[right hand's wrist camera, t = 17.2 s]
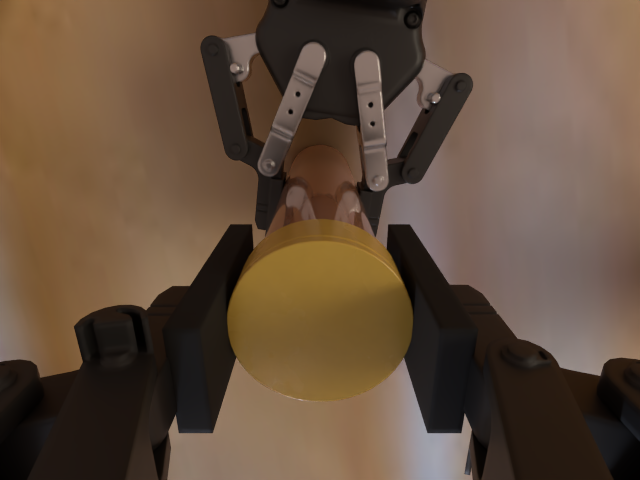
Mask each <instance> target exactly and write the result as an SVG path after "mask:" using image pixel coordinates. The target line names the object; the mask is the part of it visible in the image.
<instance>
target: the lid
mask: <svg viewBox="0 0 640 480" xmlns="http://www.w3.org/2000/svg"><path fill="white" fill-rule="evenodd" d="M227 326H228V336H229V340H230V344H231V347H232V349H233V351H234V353H235V355H236V357H237V359H238V360H239V362H240V363H241V365H242V366H243V367H244V368H245V370H246V371H247V372H248V373H249V374H250V375H251V376H252V377H253V378H254V379H256V380H257V381H258V382H260V383H261V384H262V385H264V386H265V387H267V388H269V389H271V390H272V391H275V392H277V393H279V394H281V395H284V396H287V397H290V398H294V399H299V400H304V401H313V402H328V401H337V400H342V399H346V398H350V397H353V396H356V395H359V394H361V393H364V392H366V391H368V390H370V389H372V388H373V387H375V386H376V385H378V384H380V383H381V382H382V381H383V380H385V379H386V378H387V377H388V376H389V375H390V374H391V373H392V372H393V371H394V370H395V369H396V368H397V366H398V365H399V364H400V363H401V361H402V359H403V358H404V356H405V354H406V352H407V350H408V347H409V345H410V342H411V338H412V329H413V307H412V303H411V299H410V297H409V294H408V292H407V289H406V287H405V285H404V282H403V280H402V278H401V275H400V273H399V271H398V268H397V266H396V264H395V262H394V260H393V258H392V256H391V255H390V253H389V252H388V251H387V249H386V248H385V247H384V246H383V245H382V244H381V243H380V242H379V241H378V240H377V239H376V238H375V237H373V236H372V235H370V234H369V233H368V232H366V231H364V230H362V229H360V228H359V227H356V226H354V225H351V224H349V223H345V222H341V221H337V220H329V219H311V220H304V221H299V222H295V223H292V224H289V225H287V226H284V227H282V228H280V229H278V230H276V231H275V232H273V233H271V234H270V235H269V236H267V237H266V238H265V239H263V240H262V241H261V242H260V243H259V244H258V245H257V246H256V247H255V249H254V250H253V251H252V253H251V254H250V255H249V257H248V259H247V261H246V263H245V264H244V267H243V269H242V271H241V274H240V276H239V278H238V281H237V283H236V286H235V288H234V290H233V293H232V295H231V298H230V301H229V305H228V310H227Z"/></svg>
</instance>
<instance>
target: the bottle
mask: <svg viewBox="0 0 640 480" xmlns="http://www.w3.org/2000/svg"><path fill="white" fill-rule="evenodd" d="M311 219H329V220H337V221H341V222H345V223H349V224H351V225H354V226H356V227H359V228H360V229H362V230H364V231H366V232H368V233H369V234H370V235H372V236H373V237H375V236H374V233H373V230H372V228H371V225H370V222H369V219H368V217H367V214H366V211H365V209H364V206H363V203H362V201H361V198H360V195H359V192H358V190H357V187H356V184H355V182H354V179H353V176H352V174H351V171H350V168H349V165H348V163H347V161H346V159H345V157H344V156H343V155H342V154H341V153H340V152H339V151H338V150H336V149H335V148H333V147H330V146H327V145H313V146H310V147H308V148H305V149H304V150H302V151H301V152H300V153H299V154H298V155H297V156H296V158H295V159H294V161H293V163H292V166H291V169H290V171H289V174H288V177H287V180H286V182H285V185H284V188H283V190H282V193H281V196H280V199H279V201H278V204H277V207H276V209H275V212H274V215H273V218H272V220H271V223H270V226H269V228H268V231H267V234H266V237H267V236H269V235H270V234H271V233H273V232H275V231H276V230H278V229H280V228H282V227H284V226H287V225H289V224H292V223H295V222H299V221H304V220H311ZM266 237H265V238H266Z"/></svg>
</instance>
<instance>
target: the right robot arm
mask: <svg viewBox="0 0 640 480" xmlns="http://www.w3.org/2000/svg"><path fill="white" fill-rule="evenodd" d="M253 250H254V249H253V234H252V224H231V225H230V226H229V228H228V229H227V231H226V232H225V234H224V235H223V237H222V238H221V240H220V241H219V243H218V244H217V246H216V247H215V249H214V250H213V252H212V253H211V255H210V257H209V258H208V260H207V261H206V263H205V264H204V266H203V267H202V269H201V270H200V272H199V273H198V275H197V276H196V278H195V279H194V281H193V282H192V284H191V285H190V286H172V287H170V288H169V289H167V290H166V291H164V292H162V293H161V294H159V295H158V296H157V297H156V299H155V300H154V301H153V303H152V304H151V306H150V307H149V308H148V309H147V310H144V309H143V308H142V307H139V306H134V305H117V306H112V307H107V308H103V309H101V310H98V311H95V312H92V313H90V314H89V315H87V316H85V317H84V318H82V319H80V321H79V322H78V323H77V324H76V325H75V326H74V329H75V333H76V337H77V341H78V344H79V348H80V352H81V356H82V360H83V363H82V365H81V367H80V370H76V371H72V372H67V373H62V374H57V375H52V376H47V377H42V378H40V375H39V372H38V368H37V366H36V365H35V364H34V363H33V362H31V361H27V360H11V361H3V362H0V480H167V477H168V468H169V460H170V451H171V446H170V439H169V433H168V431H169V428H170V426H171V424H172V422H173V419H174V417H175V415H176V418H177V424H178V430H179V433H213V430H214V427H215V424H216V421H217V418H218V414H219V411H220V408H221V405H222V401H223V398H224V395H225V392H226V389H227V385H228V382H229V379H230V376H231V373H232V369H233V366H234V363H235V360H236V355H235V353H234V351H233V349H232V347H231V344H230V340H229V336H228V326H227V310H228V305H229V301H230V298H231V295H232V293H233V290H234V288H235V286H236V283H237V281H238V278H239V276H240V274H241V271H242V269H243V267H244V264H245V263H246V261H247V259H248V257H249V255H250V254H251V253H252V251H253ZM387 251H388V252H389V253H390V255H391V256H392V258H393V260H394V262H395V264H396V266H397V268H398V271H399V273H400V275H401V278H402V280H403V282H404V285H405V287H406V289H407V292H408V294H409V297H410V299H411V303H412V307H413V329H412V338H411V342H410V345H409V347H408V350H407V352H406V354H405V356H404V359H405V362H406V365H407V369H408V372H409V375H410V378H411V381H412V385H413V388H414V391H415V394H416V397H417V401H418V404H419V407H420V410H421V414H422V417H423V420H424V423H425V426H426V430H427V433H461V432H462V426H463V420H464V414H465V415H466V417H467V419H468V421H469V423H470V426H471V428H472V433H471V439H470V445H469V450H468V456H467V461H466V467H465V474H467V475H470V472H471V467H472V476H473V480H640V360H637V359H628V358H616V359H610V360H609V361H607V362H606V363H605V364H604V366H603V369H602V373H601V376H597V375H592V374H587V373H582V372H577V371H572V370H567V369H564V368H560V367H559V365H558V363H557V361H556V360H555V358H554V357H553V356H552V355H551V353H549V352H548V351H546V350H545V349H543V348H542V347H540V346H538V345H536V344H533V343H531V342H529V341H525V340H521V339H517V337H516V336H515V335H514V334H513V332H512V331H511V330H510V328H509V327H508V326H507V325H506V323H505V322H504V321H503V320H502V318H501V317H500V316H499V315H498V314H497V312H496V311H495V309H494V308H493V307H492V306H490V303H489V302H488V301H487V299H486V298H485V297H484V295H483V294H482V293H480V292H479V291H477V290H475V289H474V288H472V287H471V286H469V285H449V284H448V282H447V280H446V279H445V277H444V276H443V274H442V273H441V271H440V270H439V268H438V267H437V265H436V264H435V262H434V261H433V259H432V258H431V256H430V255H429V253H428V252H427V250H426V249H425V247H424V245H423V244H422V242H421V241H420V239H419V238H418V236H417V235H416V233H415V232H414V230H413V229H412V227H411V226H410V224H388V237H387Z"/></svg>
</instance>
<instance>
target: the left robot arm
mask: <svg viewBox="0 0 640 480" xmlns="http://www.w3.org/2000/svg"><path fill="white" fill-rule="evenodd" d="M426 1H427V0H269V2H268V6H267V9H266V12H265V14H264V16H263V18H262V19H261V21H260V22H259V24H258V26H257V29H256V33H251V34H246V35H240V36H235V37H229V38H220V37H217V36H207V37H206V38H204V40H203V41H202V43H201V54H202V58H203V62H204V66H205V70H206V74H207V79H208V83H209V87H210V91H211V95H212V99H213V103H214V108H215V112H216V116H217V120H218V124H219V128H220V133H221V137H222V141H223V145H224V149H225V153H226V155H227V156H228V157H229V158H230V159H232V160H240V161H242V162H244V163H246V164H248V165H250V166H252V167H253V168H254V169H255V170H256V172H257V174H258V178H259V181H258V192H257V204H256V215H255V222H256V225H257V228H258V229H262V230H266V234H267V231H268V228H269V226H270V223H271V220H272V218H273V215H274V212H275V209H276V207H277V204H278V201H279V199H280V196H281V193H282V190H283V188H284V185H285V182H286V174H287V172H283V169H284V160H285V157H286V155H287V152H288V150H289V148H290V145H291V143H292V141H293V138H294V136H295V134H296V132H297V129H298V127H299V125H300V122H301V120H302V118H306V119H313V120H318V119H326V118H333V119H335V120H337V121H340V122H342V123H344V124H348V125H355V126H356V131H357V139H358V144H359V151H360V159H361V168H362V181H361V182H357V190H358V192H359V195H360V198H361V201H362V203H363V206H364V209H365V211H366V214H367V217H368V219H369V222H370V225H371V228H372V230H373V233H374V236H375V237H376V234H377V229H378V224H379V219H380V214H381V209H382V204H383V199H384V195H385V193H386V191H387V190H388V189H389V188H390V187H392V186H395V185H399V184H404V183H409V184H415V183H418V182H419V181H421V179H422V178H423V176H424V175H425V173H426V171H427V169H428V167H429V166H430V164H431V162H432V160H433V159H434V157H435V155H436V153H437V151H438V150H439V148H440V146H441V144H442V142H443V141H444V139H445V137H446V135H447V134H448V132H449V130H450V128H451V126H452V125H453V123H454V121H455V119H456V117H457V116H458V114H459V112H460V110H461V109H462V107H463V105H464V103H465V101H466V100H467V98H468V96H469V94H470V93H471V91H472V88H473V81H472V79H471V77H470V76H469V75H468V74H465V73H457V74H453V73H451V72H449V71H447V70H445V69H443V68H441V67H440V66H438V65H436V64H434V63H432V62H430V61H428V60H426V59H425V57H426V53H425V48H424V45H423V41H422V21H423V16H424V11H425V6H426ZM258 55H261V57H262V59H263V61H264V63H265V64H266V66H267V68H268V70H269V72H270V74H271V76H272V78H273V80H274V81H275V83H276V85H277V87H278V89H279V91H280V93H281V95H282V96H283V99H282V101H281V104H280V106H279V109H278V111H277V114H276V116H275V119H274V121H273V124H272V127H271V130H270V133H269V136H268V138H267V141H266V143H263V142H262V141H260V140H258V139H256V138H254V137H253V132H252V128H251V123H250V118H249V113H248V109H247V104H246V99H245V95H244V90H243V85H242V82H244V81H247V80H248V79H249V78H250V76H251V73H252V62H253V60H254V58H255V57H256V56H258ZM414 79H416V80H417V82H418V84H419V92H418V94H417V103H418V105H419V106H420V107H421V108H423V109H422V111H421V112H420V114H419V116H418V118H417V120H416V122H415V124H414V126H413V128H412V130H411V131H410V133H409V135H408V137H407V139H406V141H405V143H404V145H403V147H402V149H401V150H400V152H399V154H398V156H397V158H393V159H389V160H387V154H386V144H387V140H386V129H385V119H384V110H385V109H386V108H387V107H388V106H389V105H390V103H391V102H392V101H393V100H394V99H395V98H396V97H397V96H398V95H399V94H400V93H401V92H402V91H403V90H404V89H405V88H406V87H407V86H408V85H409V84H410V83H411V82H412V81H413V80H414ZM266 234H265V237H266Z"/></svg>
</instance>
